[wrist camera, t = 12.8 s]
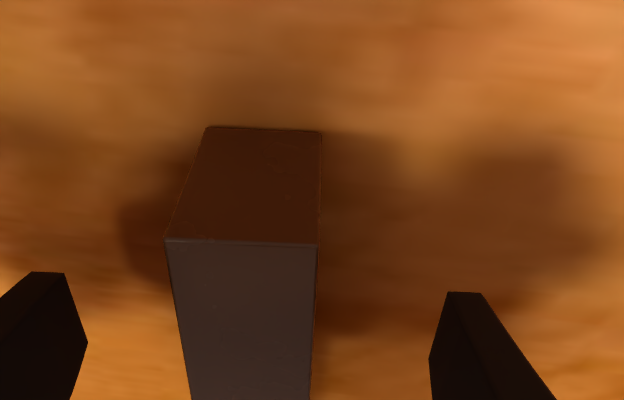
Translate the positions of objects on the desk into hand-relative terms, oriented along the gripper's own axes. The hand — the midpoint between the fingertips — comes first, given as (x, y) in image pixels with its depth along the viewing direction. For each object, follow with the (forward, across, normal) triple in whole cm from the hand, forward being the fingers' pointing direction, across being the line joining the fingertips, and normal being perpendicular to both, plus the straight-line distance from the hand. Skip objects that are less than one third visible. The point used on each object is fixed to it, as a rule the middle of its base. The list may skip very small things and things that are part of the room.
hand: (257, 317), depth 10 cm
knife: (+2, 0, +5) cm, 5 cm away
